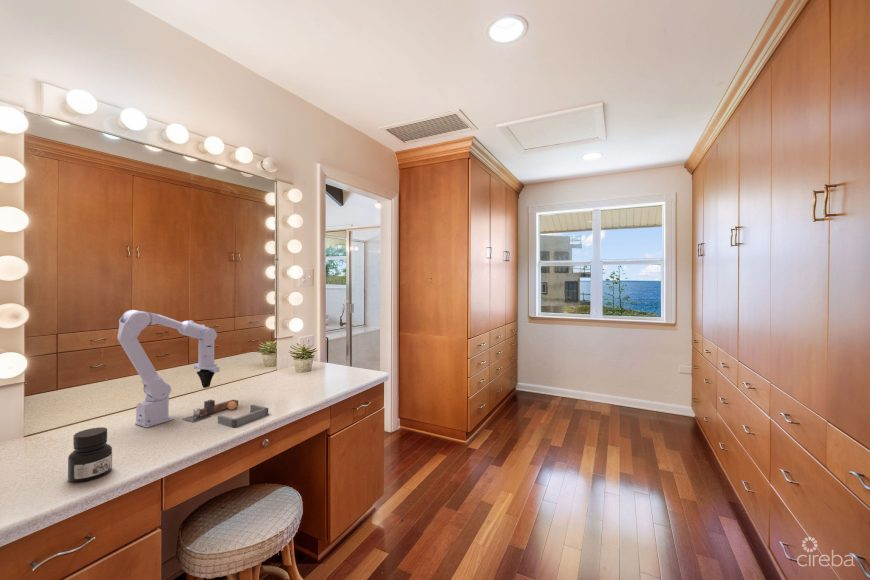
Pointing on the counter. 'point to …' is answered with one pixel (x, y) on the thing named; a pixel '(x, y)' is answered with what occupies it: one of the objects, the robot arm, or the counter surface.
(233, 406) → the ball
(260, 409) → the tray
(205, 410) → the lever
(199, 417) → the pivot base
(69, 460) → the ink bottle
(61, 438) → the counter surface
